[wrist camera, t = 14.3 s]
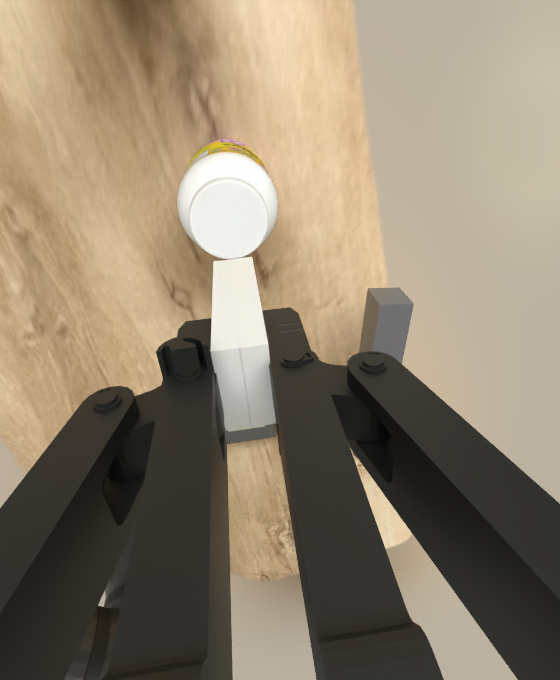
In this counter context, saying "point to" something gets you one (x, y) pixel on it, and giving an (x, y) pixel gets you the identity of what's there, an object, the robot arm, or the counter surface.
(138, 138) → the counter surface
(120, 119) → the counter surface
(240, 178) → the supplement bottle
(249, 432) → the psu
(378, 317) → the cable arm
